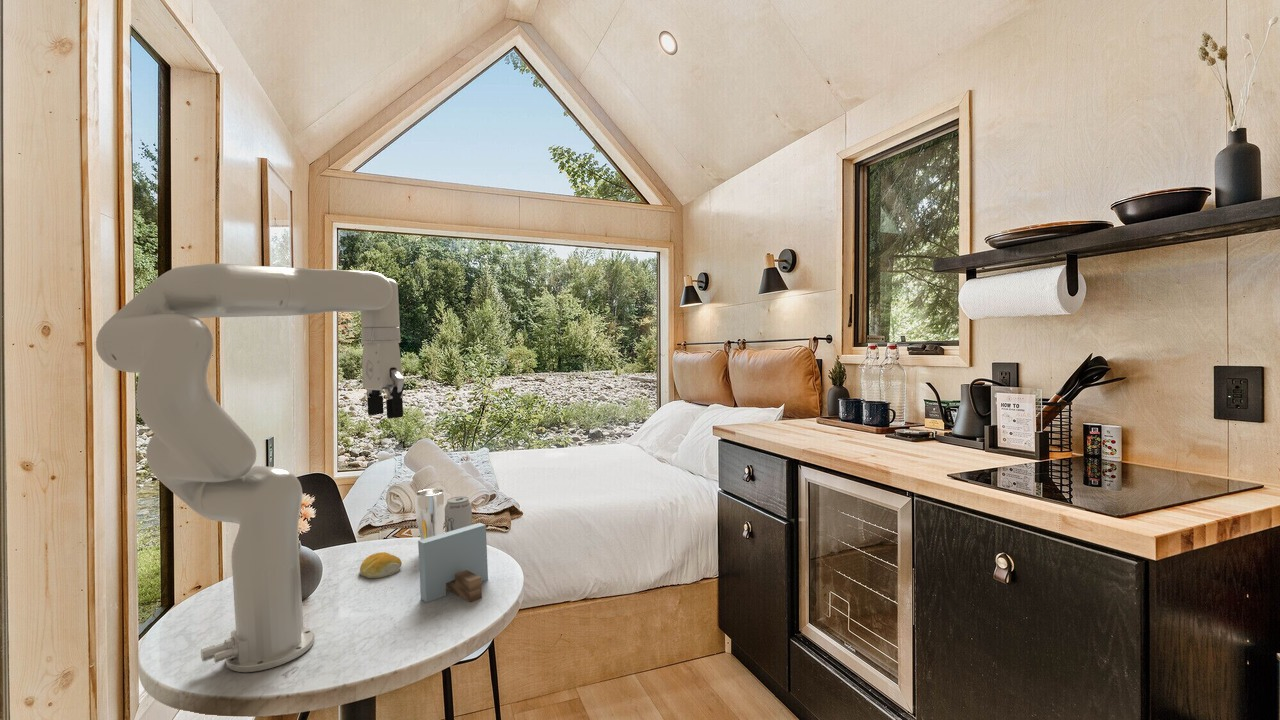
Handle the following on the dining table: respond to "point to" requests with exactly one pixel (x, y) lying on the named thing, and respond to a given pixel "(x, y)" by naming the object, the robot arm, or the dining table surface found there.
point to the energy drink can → (458, 513)
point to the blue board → (451, 558)
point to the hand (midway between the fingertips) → (385, 416)
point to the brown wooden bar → (466, 585)
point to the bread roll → (380, 565)
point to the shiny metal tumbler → (430, 512)
